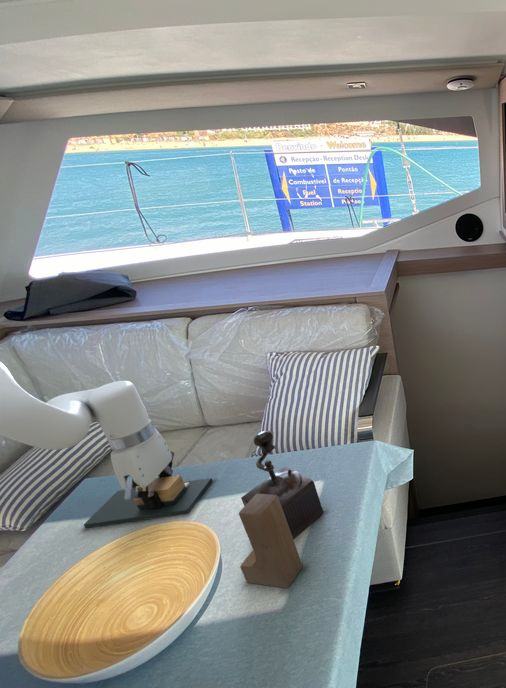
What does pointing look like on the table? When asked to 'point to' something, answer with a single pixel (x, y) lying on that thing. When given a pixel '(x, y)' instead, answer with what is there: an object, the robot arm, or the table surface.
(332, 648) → the table surface
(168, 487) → the eraser
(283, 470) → the manual coffee grinder
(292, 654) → the table surface
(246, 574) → the wooden block
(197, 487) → the slate board
